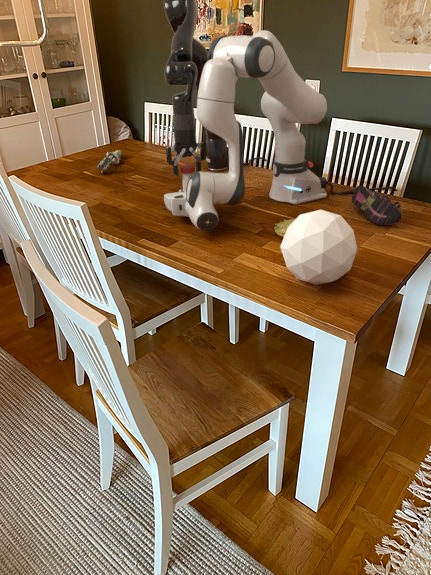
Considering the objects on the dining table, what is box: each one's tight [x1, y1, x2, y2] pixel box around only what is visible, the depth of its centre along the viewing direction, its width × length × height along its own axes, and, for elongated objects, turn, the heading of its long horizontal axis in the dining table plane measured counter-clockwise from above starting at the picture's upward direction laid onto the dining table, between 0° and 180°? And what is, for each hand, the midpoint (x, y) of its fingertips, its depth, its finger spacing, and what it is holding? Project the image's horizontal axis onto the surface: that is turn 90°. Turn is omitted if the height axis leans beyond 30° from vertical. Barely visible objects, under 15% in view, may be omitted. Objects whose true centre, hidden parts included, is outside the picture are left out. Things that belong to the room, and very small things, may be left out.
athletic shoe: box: [351, 185, 403, 226], centre depth 153 cm, size 11×22×12 cm
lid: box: [180, 164, 196, 174], centre depth 159 cm, size 5×5×2 cm
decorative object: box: [273, 218, 296, 238], centre depth 145 cm, size 21×2×20 cm
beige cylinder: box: [181, 172, 195, 192], centre depth 163 cm, size 4×4×15 cm
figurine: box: [96, 150, 123, 174], centre depth 213 cm, size 7×8×30 cm
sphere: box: [279, 209, 358, 286], centre depth 117 cm, size 19×20×20 cm
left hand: (187, 173), depth 160 cm, fingers open, 7 cm apart
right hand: (188, 190), depth 164 cm, fingers closed on beige cylinder, 4 cm apart
